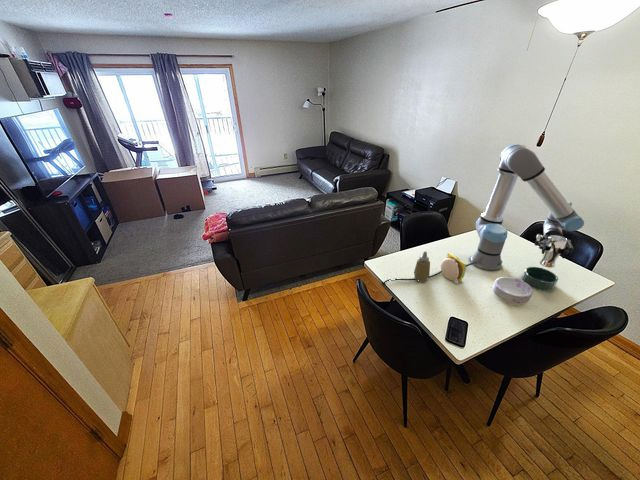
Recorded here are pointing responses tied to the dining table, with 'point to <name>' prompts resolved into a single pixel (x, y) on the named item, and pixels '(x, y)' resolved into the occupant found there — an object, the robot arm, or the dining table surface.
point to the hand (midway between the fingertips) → (553, 253)
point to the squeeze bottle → (422, 268)
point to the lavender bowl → (512, 290)
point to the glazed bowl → (539, 278)
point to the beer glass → (553, 250)
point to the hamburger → (453, 268)
